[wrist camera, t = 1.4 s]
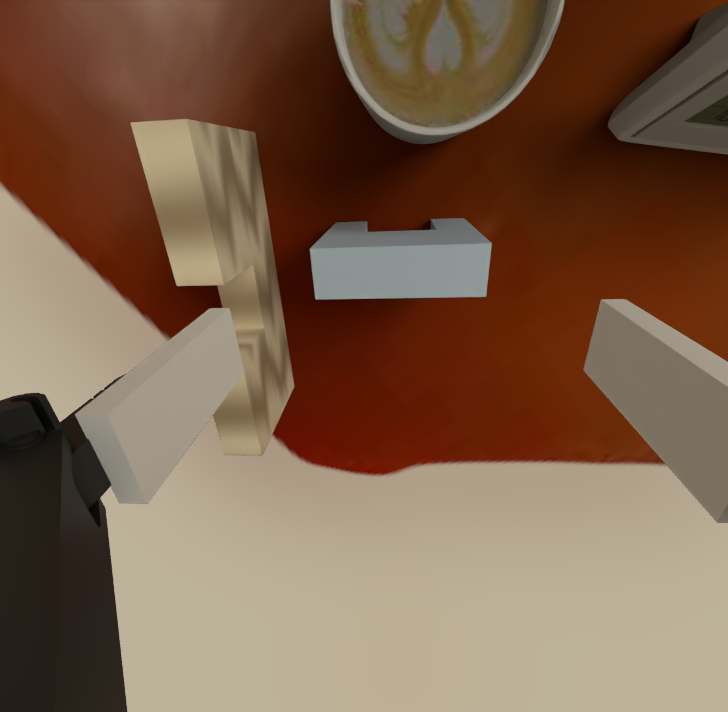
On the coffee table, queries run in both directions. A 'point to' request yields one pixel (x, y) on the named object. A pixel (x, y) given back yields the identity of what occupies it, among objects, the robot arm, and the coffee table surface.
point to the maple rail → (224, 258)
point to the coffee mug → (440, 59)
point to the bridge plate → (401, 262)
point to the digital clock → (683, 95)
